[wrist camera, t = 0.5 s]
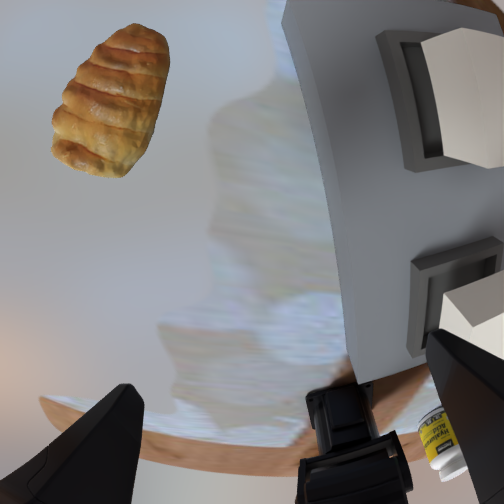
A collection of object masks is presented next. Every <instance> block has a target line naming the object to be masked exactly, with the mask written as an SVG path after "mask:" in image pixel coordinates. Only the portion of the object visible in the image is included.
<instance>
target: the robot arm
mask: <svg viewBox="0 0 504 504" xmlns="http://www.w3.org/2000/svg"><path fill="white" fill-rule="evenodd" d="M425 356H426V360H427V363H428V366H429V369H430V372H431V375H432V377H433V380H434V383H435V386H436V389H437V392H438V395H439V398H440V401H441V403H442V406H443V408H444V410H445V413H446V415H447V417H448V419H449V422H450V424H451V426H452V429H453V431H454V434H455V436H456V439H457V441H458V444H459V446H460V449H461V451H462V454H463V457H464V459H465V462H466V465H467V467H468V470H469V473H470V476H471V479H472V482H473V485H474V488H475V491H476V494H477V498H478V501H479V504H504V360H503V359H501V358H499V357H497V356H495V355H493V354H491V353H489V352H488V351H486V350H484V349H482V348H480V347H478V346H476V345H474V344H472V343H470V342H468V341H466V340H464V339H462V338H460V337H458V336H456V335H454V334H452V333H450V332H449V331H447V330H445V329H442V328H440V329H437V330H434V331H431V332H430V333H429V334H428V339H427V345H426V351H425ZM372 397H373V383H372V381H369V382H365V383H362V384H358V383H354V384H350V385H346V386H342V387H338V388H334V389H330V390H326V391H321V392H317V393H312V394H308V395H307V396H306V403H307V408H308V412H309V416H310V420H311V425H312V428H313V429H316V436H317V443H318V450H319V456H316V457H311V458H303V459H300V466H299V468H298V486H297V496H296V499H295V504H408V500H407V495H406V493H407V492H410V491H412V490H413V482H412V477H411V473H410V469H409V466H408V463H407V460H406V457H405V455H404V452H403V449H402V447H401V444H400V441H399V439H398V436H397V434H396V431H395V430H394V431H391V432H389V433H388V434H386V435H383V436H381V437H380V435H379V432H378V429H377V425H376V422H375V419H374V416H373V412H372ZM143 417H144V401H143V399H142V397H141V396H140V395H139V393H138V392H137V391H136V389H135V387H134V386H133V385H131V384H119V385H118V386H117V387H115V388H114V389H113V390H112V391H111V392H110V393H109V394H107V395H106V396H105V397H104V398H103V399H102V400H100V401H99V402H98V403H97V404H96V405H95V406H93V407H92V408H91V409H90V410H89V411H88V412H86V413H85V414H84V415H83V416H82V417H81V418H79V419H78V420H77V421H76V422H75V423H74V424H73V425H71V426H70V427H69V428H68V429H67V430H65V431H64V432H63V433H62V434H61V435H60V436H58V437H57V438H56V439H55V440H54V441H53V442H51V443H50V444H49V446H47V447H45V448H44V449H43V450H42V451H41V452H40V453H38V454H37V455H36V456H35V457H33V458H32V459H31V460H29V461H28V462H27V463H25V464H24V465H23V466H21V467H20V468H18V469H17V470H15V471H14V472H12V473H11V474H9V475H8V476H6V477H5V478H3V479H2V480H0V504H131V501H132V495H133V488H134V482H135V476H136V470H137V464H138V459H139V454H140V448H141V440H142V428H143ZM392 455H393V457H391V458H389V456H392Z"/></svg>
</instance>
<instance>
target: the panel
mask: <svg viewBox="0 0 504 504" xmlns="http://www.w3.org/2000/svg"><path fill="white" fill-rule="evenodd" d="M281 24H282V27H283V30H284V33H285V36H286V39H287V42H288V45H289V49H290V52H291V55H292V58H293V62H294V65H295V68H296V72H297V75H298V79H299V82H300V86H301V89H302V93H303V97H304V100H305V104H306V108H307V112H308V116H309V120H310V124H311V128H312V132H313V136H314V141H315V145H316V149H317V154H318V158H319V163H320V168H321V173H322V177H323V182H324V187H325V193H326V198H327V203H328V209H329V214H330V220H331V226H332V232H333V238H334V245H335V251H336V258H337V265H338V272H339V280H340V288H341V296H342V305H343V314H344V324H345V335H346V347H347V351H348V354H349V357H350V360H351V363H352V366H353V369H354V373H355V376H356V379H357V382H358V384H362V383H365V382H369V381H372V380H376V379H379V378H382V377H386V376H389V375H392V374H395V373H398V372H401V371H404V370H407V369H410V368H413V367H415V366H418V365H421V364H424V363H426V362H427V360H426V356H425V351H426V345H427V339H428V334H429V333H430V332H431V331H434V330H437V329H439V324H440V318H441V311H442V303H443V295H444V293H446V292H448V291H451V290H454V289H457V288H459V287H462V286H465V285H467V284H470V283H473V282H475V281H478V280H480V279H483V278H485V277H488V276H490V275H493V274H495V273H498V272H500V271H502V270H504V166H503V167H496V168H490V169H487V168H484V167H481V166H478V165H475V164H472V163H468V162H465V161H462V160H458V159H455V158H451V157H447V156H444V152H443V144H442V136H441V129H440V123H439V117H438V111H437V106H436V101H435V96H434V91H433V87H432V82H431V78H430V74H429V70H428V66H427V63H426V59H425V55H424V52H423V49H422V45H421V42H423V41H425V40H428V39H431V38H433V37H436V36H439V35H441V34H444V33H447V32H450V31H453V30H456V29H459V28H467V29H472V30H477V31H481V32H486V33H490V34H494V35H498V36H501V37H504V35H503V32H502V29H501V26H500V23H499V21H498V18H497V15H496V14H493V13H490V12H486V11H483V10H479V9H476V8H472V7H468V6H464V5H460V4H455V3H450V2H445V1H440V0H287V2H286V6H285V10H284V14H283V18H282V22H281Z"/></svg>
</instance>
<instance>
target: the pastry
mask: <svg viewBox="0 0 504 504" xmlns="http://www.w3.org/2000/svg"><path fill="white" fill-rule="evenodd" d="M169 67H170V56H169V47H168V43H167V41H166V38H165V37H164V36H163V35H162V34H160V33H158V32H156V31H155V30H152V29H149V28H146V27H144V26H142V25H140V24H136V23H133V24H131V25H129V26H127V27H126V28H123V29H120V30H118V31H116V32H115V33H114V34H113V35H112V36H111V37H109V38H108V39H107V40H106V41H105V42H103V43H102V44H99V45H98V46H96V47H95V49H94V51H93V53H92V55H91V57H90V58H89V59H88V60H86V61H85V62H84V63H83V64H81V65H80V66H79V67H78V68H77V73H76V76H75V78H73V79H72V80H71V81H70V82H69V83H68V84H67V87H66V88H65V90H64V92H63V93H62V100H63V104H62V105H61V106H60V107H58V108H57V109H56V110H55V112H54V114H53V118H52V125H53V128H54V130H55V134H54V136H53V142H52V144H53V145H52V147H51V152H52V153H53V156H54V157H55V158H57V159H58V160H60V161H61V162H62V163H64V164H65V165H67V166H69V167H71V168H73V169H74V170H79V171H84V172H87V173H88V174H90V175H95V176H100V177H107V178H121V177H123V176H125V175H126V174H127V173H128V172H129V171H130V170H131V168H132V167H133V166H134V164H135V163H136V162H137V161H138V160H139V158H140V157H141V156H142V155H143V154H144V153H145V151H146V149H147V147H148V144H149V142H150V140H151V137H152V135H153V133H154V128H155V123H156V120H157V117H158V114H159V110H160V107H161V103H162V98H163V94H164V89H165V84H166V80H167V76H168V72H169Z"/></svg>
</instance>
